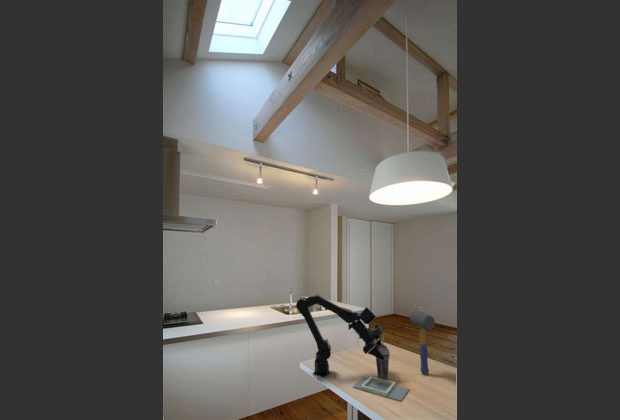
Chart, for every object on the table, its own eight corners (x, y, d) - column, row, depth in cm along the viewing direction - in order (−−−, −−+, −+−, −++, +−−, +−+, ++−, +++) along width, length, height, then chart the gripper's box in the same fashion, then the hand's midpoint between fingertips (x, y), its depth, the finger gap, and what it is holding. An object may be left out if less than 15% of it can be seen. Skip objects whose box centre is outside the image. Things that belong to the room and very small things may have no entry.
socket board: (352, 387, 131) (352, 383, 131) (363, 377, 141) (363, 374, 141) (401, 402, 119) (400, 397, 119) (409, 390, 129) (408, 385, 129)
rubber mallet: (439, 378, 140) (435, 314, 144) (426, 380, 138) (423, 315, 142) (423, 368, 152) (420, 309, 156) (410, 370, 150) (408, 310, 154)
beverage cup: (372, 376, 143) (371, 334, 145) (384, 373, 145) (383, 332, 148) (380, 382, 136) (379, 338, 138) (393, 380, 138) (391, 336, 141)
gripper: (368, 324, 137) (393, 352, 131) (376, 316, 154) (398, 340, 148) (353, 340, 139) (376, 368, 133) (362, 330, 156) (384, 354, 150)
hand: (385, 356), depth 141 cm, fingers closed on beverage cup, 7 cm apart
